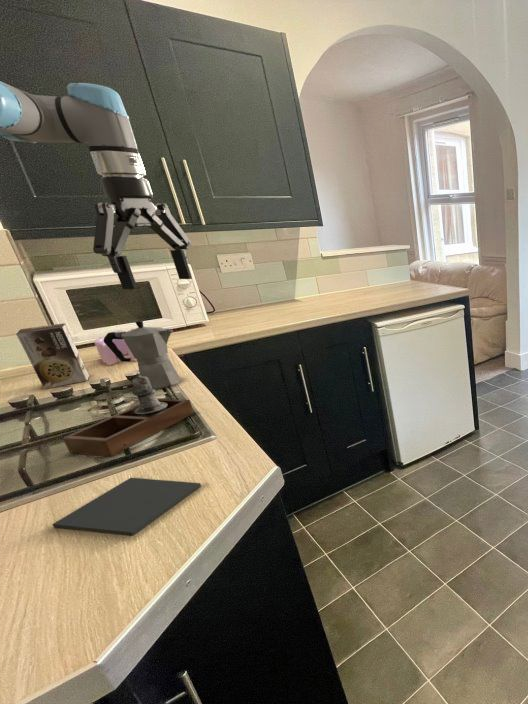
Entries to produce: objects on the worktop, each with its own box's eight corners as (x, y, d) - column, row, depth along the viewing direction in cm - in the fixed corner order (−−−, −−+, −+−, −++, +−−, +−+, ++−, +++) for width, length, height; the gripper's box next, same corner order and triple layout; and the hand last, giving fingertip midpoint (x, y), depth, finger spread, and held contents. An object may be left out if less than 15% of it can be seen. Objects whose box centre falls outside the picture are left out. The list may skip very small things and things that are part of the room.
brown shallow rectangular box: (69, 453, 83) (62, 438, 82) (158, 411, 100) (152, 398, 99) (112, 456, 82) (105, 440, 80) (194, 413, 99) (189, 399, 98)
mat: (53, 527, 63) (51, 524, 63) (131, 480, 74) (130, 477, 74) (132, 535, 61) (131, 532, 61) (201, 486, 72) (200, 483, 72)
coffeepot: (194, 374, 124) (174, 314, 117) (184, 385, 115) (161, 322, 109) (131, 382, 119) (106, 320, 112) (115, 394, 111) (87, 328, 104)
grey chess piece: (165, 414, 99) (147, 366, 94) (177, 419, 96) (159, 370, 91) (135, 424, 94) (114, 374, 90) (146, 430, 91) (126, 379, 87)
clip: (111, 351, 148) (103, 332, 146) (155, 345, 154) (148, 326, 152) (97, 366, 133) (88, 345, 130) (147, 359, 139) (139, 339, 136)
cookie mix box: (89, 375, 125) (66, 322, 119) (87, 381, 121) (63, 326, 115) (46, 383, 120) (20, 328, 114) (42, 389, 116) (14, 332, 109)
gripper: (72, 171, 73) (119, 293, 81) (191, 180, 96) (218, 275, 104) (36, 173, 74) (85, 293, 82) (162, 181, 97) (191, 275, 105)
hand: (160, 283), depth 93 cm, fingers open, 13 cm apart
